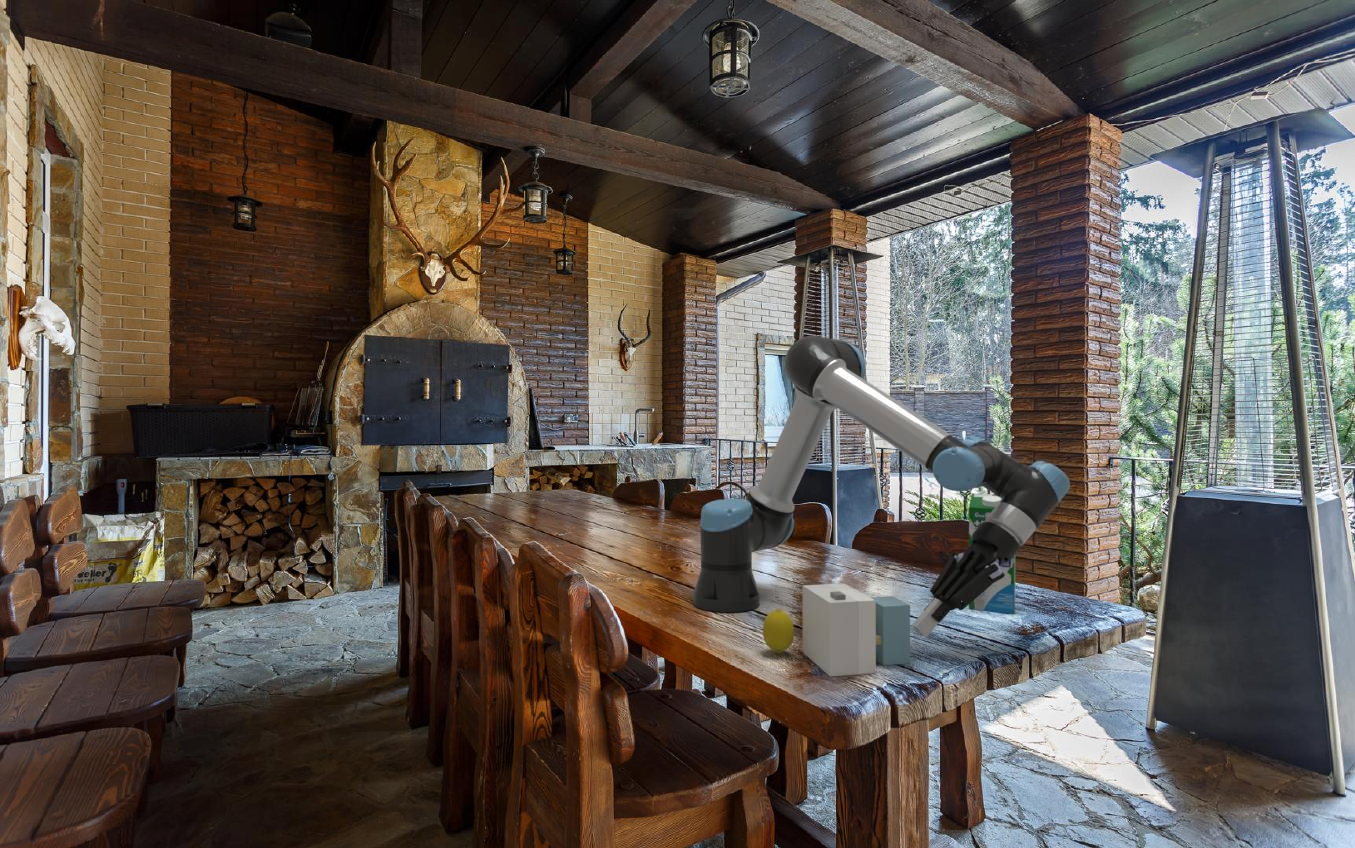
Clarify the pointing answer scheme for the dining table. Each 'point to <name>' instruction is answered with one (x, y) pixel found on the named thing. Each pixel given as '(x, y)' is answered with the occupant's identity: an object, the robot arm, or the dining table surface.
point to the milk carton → (1003, 590)
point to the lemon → (778, 631)
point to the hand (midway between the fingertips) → (918, 631)
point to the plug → (892, 631)
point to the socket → (839, 629)
